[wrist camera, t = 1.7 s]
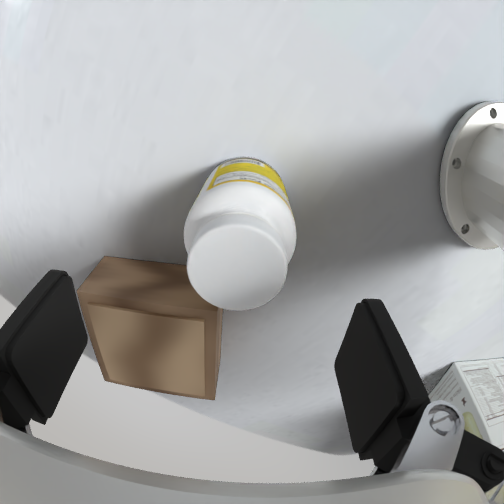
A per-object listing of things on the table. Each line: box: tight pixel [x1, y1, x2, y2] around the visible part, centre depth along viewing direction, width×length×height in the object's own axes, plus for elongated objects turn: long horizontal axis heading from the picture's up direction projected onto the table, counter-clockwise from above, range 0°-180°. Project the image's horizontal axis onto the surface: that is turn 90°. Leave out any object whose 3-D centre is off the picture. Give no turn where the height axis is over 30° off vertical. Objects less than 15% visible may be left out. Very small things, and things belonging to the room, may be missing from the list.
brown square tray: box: [77, 256, 223, 400], centre depth 23 cm, size 10×10×5 cm
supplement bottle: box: [184, 157, 297, 311], centre depth 16 cm, size 5×5×10 cm
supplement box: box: [428, 358, 504, 452], centre depth 25 cm, size 13×13×18 cm
